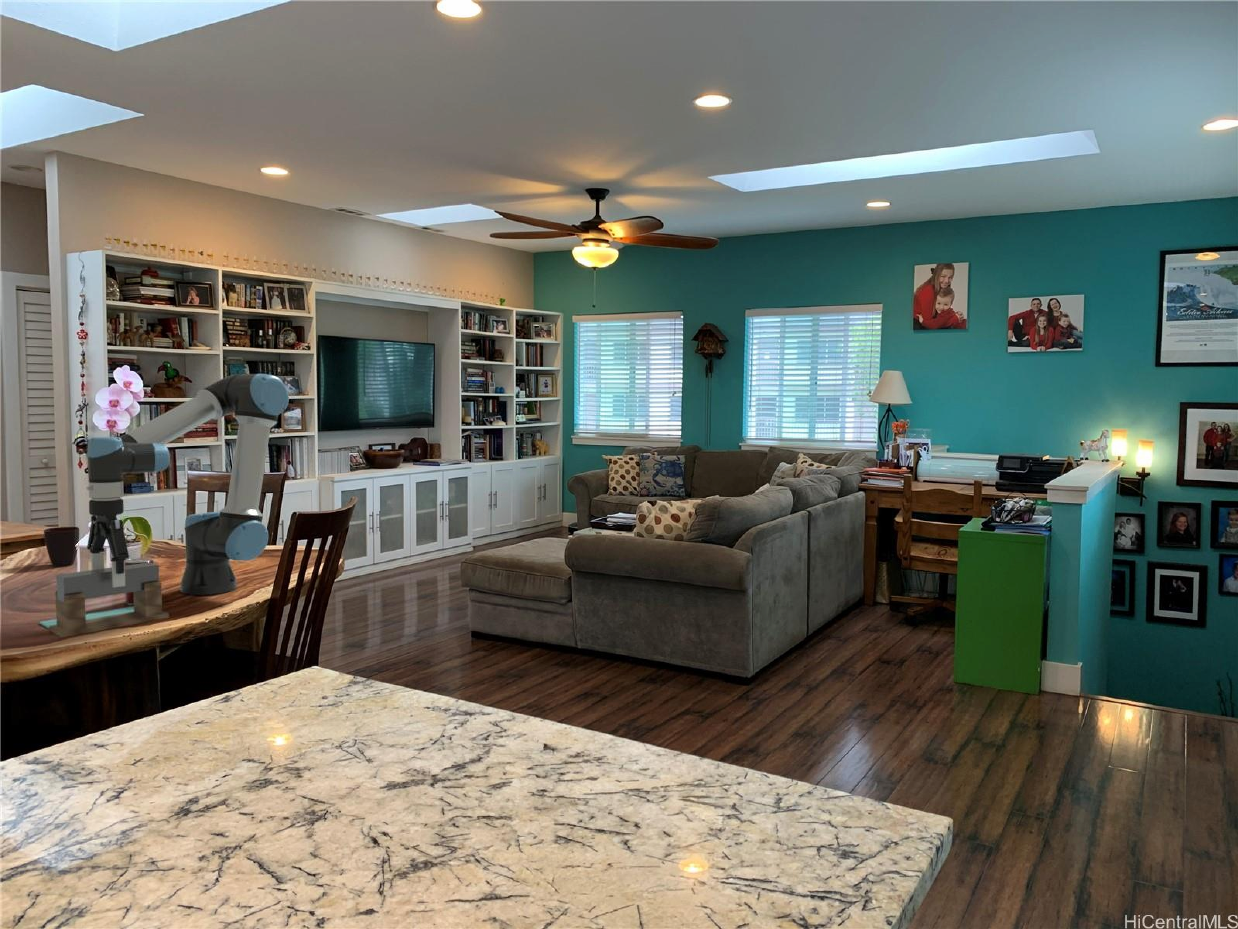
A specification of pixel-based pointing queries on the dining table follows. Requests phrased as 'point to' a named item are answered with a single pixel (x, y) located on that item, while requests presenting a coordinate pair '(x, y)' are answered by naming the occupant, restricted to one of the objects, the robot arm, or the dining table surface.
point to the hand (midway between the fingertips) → (108, 582)
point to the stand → (75, 622)
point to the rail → (106, 581)
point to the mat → (93, 615)
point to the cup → (62, 545)
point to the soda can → (130, 596)
